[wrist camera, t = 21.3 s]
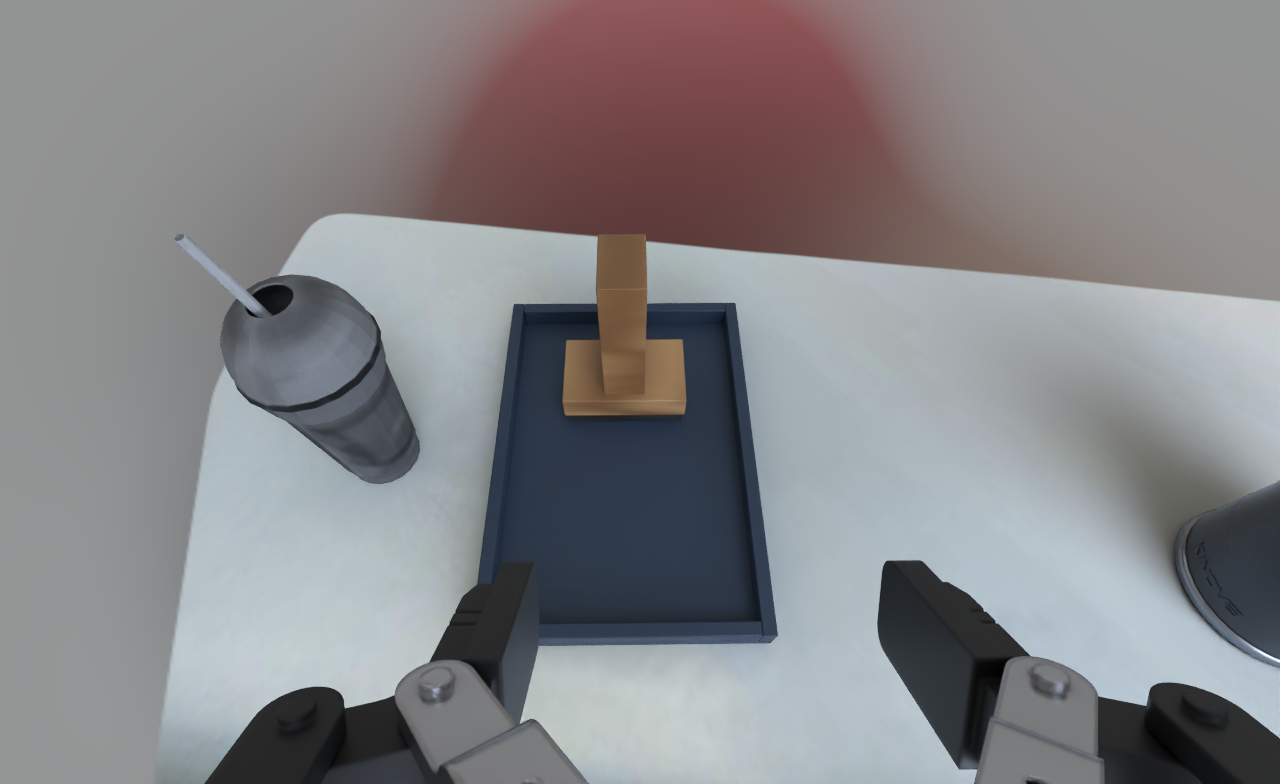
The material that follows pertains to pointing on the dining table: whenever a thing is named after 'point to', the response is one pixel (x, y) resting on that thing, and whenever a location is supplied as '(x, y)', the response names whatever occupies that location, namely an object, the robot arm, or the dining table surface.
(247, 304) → the beverage cup
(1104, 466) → the dining table surface
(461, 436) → the dining table surface
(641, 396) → the wooden post on base
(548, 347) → the tray
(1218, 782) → the robot arm
